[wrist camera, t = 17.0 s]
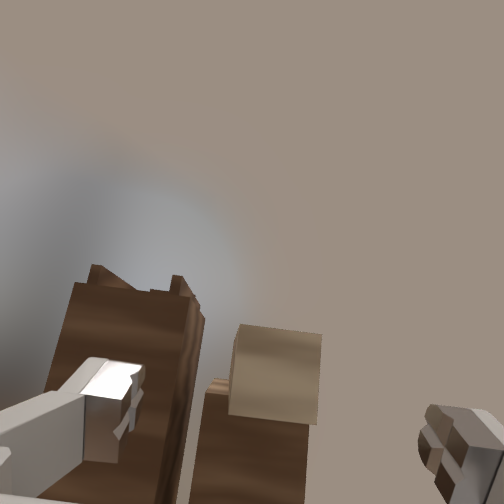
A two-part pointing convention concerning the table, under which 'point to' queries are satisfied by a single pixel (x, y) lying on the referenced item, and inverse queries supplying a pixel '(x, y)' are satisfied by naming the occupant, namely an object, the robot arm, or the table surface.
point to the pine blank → (275, 374)
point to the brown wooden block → (154, 387)
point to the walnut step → (247, 456)
